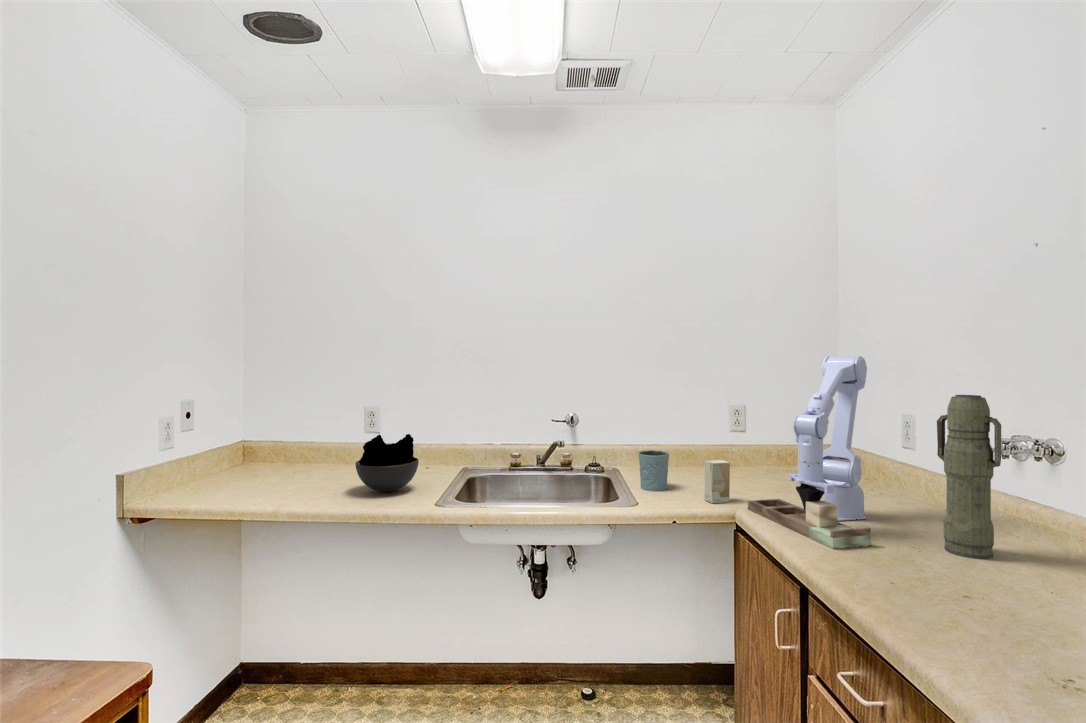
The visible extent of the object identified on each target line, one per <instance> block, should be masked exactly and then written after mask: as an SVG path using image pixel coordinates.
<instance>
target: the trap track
mask: <svg viewBox="0 0 1086 723" xmlns="http://www.w3.org/2000/svg"><path fill="white" fill-rule="evenodd" d="M747 510H749V511H751V512H753V513H755V514H757V515H759V516H761V517H763V518H766V519H768V520H770V521H772V522H774V523H777V524H779V525H781V526H782V527H784V528H787V529H789V530H791V531H793V532H795V533H798V534H800V535H802V536H804V537H806V538H809V539H810V538H811V540H813V541H815V542H817V541H818V543H819V542H820V543H819V544H821V543H822V545H823V544H825V545H827V546H826V547H828V546H829V547H828V548H830V547H831V548H830V549H832V548H833V549H832V550H835V549H834V548H839V549H846V548H845V547H851V548H857V547H856V546H863V547H867V546H866V545H871V542H872V541H871V538H872V536H871V535H872V533H871V528H870V527H858V528H857V527H856V528H854V527H852V526H849V525H846V524H843V523H841V522H840V521H838V526H834V527H817V526H815V525H813V524H810V523H808V522H806V514H805V511H804V507H800V506H798V505H796V504H793V503H791V502H788V501H786V500H783V499H780V498H769V499H755V500H751V499H750V500H747ZM825 545H824V546H825Z"/></svg>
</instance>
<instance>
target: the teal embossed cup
mask: <svg viewBox="0 0 1086 723" xmlns="http://www.w3.org/2000/svg"><path fill="white" fill-rule="evenodd" d="M637 454H638V461H639V463H638V464H639V477H640V479H639V480H640V489H642V490H643V491H649V492H664V491H667V489H668V473H669V460H670V458H669V457H670V452H668V451H666V450H656V449H655V450H654V449H651V450H650V449H647V450H639V451H638V452H637Z"/></svg>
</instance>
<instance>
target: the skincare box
mask: <svg viewBox="0 0 1086 723" xmlns="http://www.w3.org/2000/svg"><path fill="white" fill-rule="evenodd" d="M730 464H731V463H730V462H729V461H727V460H723V459H718V460H717V459H716V460H705V461H704V501H706V502H708V503H710V504H720V503H721V504H723V503H730V482H731V480H730V476H731V470H730V469H731V468H730V467H731V465H730Z"/></svg>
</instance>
